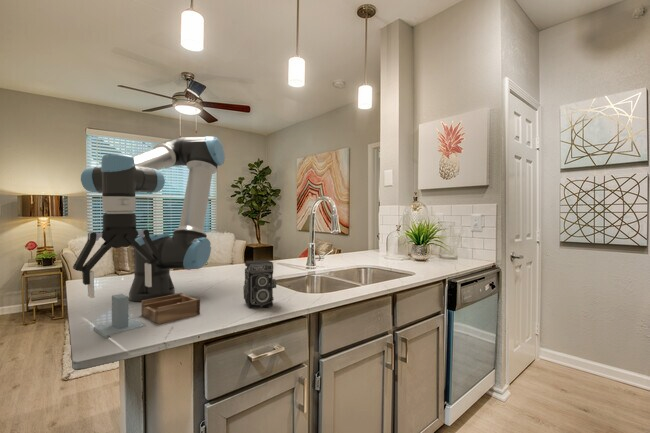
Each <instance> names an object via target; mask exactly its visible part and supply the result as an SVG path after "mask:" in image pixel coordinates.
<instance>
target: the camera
mask: <svg viewBox="0 0 650 433" xmlns="http://www.w3.org/2000/svg"><path fill="white" fill-rule="evenodd" d="M244 265H245V268H244V281H243V282H244V283H243V284H244V285H243V286H242V287H243V289H242V290H243V300H244V303H245V304H246V306H247V308H248V309H255V308H263V307H269V308H270V307H272V306H273V305H274V303H273V302H274V296H273V293H274V292H273V291H274V290H273V289H276V288H277V280H276V278H273V276H274V275H273V274H274V262H273V261H271V260H266V259H264V260H248V261H247V260H246V261H245V262H244Z"/></svg>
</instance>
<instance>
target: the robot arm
mask: <svg viewBox="0 0 650 433" xmlns="http://www.w3.org/2000/svg"><path fill="white" fill-rule="evenodd" d="M224 163H225V150H224V147H223V144H222V143H221V140H220V139H219V138H217V137H216V136H208V135H205V136H187V137H186V136H183V137H177V138H173V139H172V138H171V139H170V140H169V139H168V140H167V141H164V142H161V143H159V144H155V145H154V147H153V148H152V149H150V150H147V151H145V152H142V153H138V154H136V155H133V156H132V155H128V154H119V153H107V154H104V155H102V157H101V167H97V166H95V167H94V166H93V167H89V168H86V169H84V170H83V171H82V173H81V174H80V183H81V186H82V187H83V188H84V189H85V191H87V192H89V193H99V194H102V197H101V199H102V200H101V201H102V205H101V206H102V208H101V209H102V212H105V213H103V215H102V232H93V231H89V232H88V234H87V241H86V243H85V245H84V246H83V248H82V249H81V251H80V253H79V255H78V257H77V259H76V260H75V262H74V264H73V266H72V269H73V270H74V271H78V272H81V273H82V274H81V275H82V284H83V285H85V286H87V296H88V297H89V298H90V299H93V298H95V297H96V296H95V272H94V271H93V270H92V269H93V268H94V267H95V266H96V265H97V263H98V262H99V261H100V260H101V259H102V258H103V256H104V255H105V254H106V253H107V252H108V251H109V250H111V249H112V248H113V249H119V248H129V247H131V248H132V249H133V254H134V255H133V260H134V261H133V266H134V270H133V271H134V275H133V276H134V278H133V280H132V283H131V286H130V288H129V291H128V301H129V300H130V301H132V302H142V300H147V299H152V298H157V297H163V296H168V295H173V294H176V293H175V292H176V289H175V285H174V282H173V279H172V278H171V272H170V270H186V271H190V270H199V269H202V268H203V267H204V266H205V265H206V264H207V263H208V261H209V258H210V255H211V252H212V247H211V241H210V240H209V238H208V237H207V233H206V232H205V231H204V229H205V223H206V214H207V209H208V204H209V196H210V191H211V182H212V178H213V174H215V173H216V172H217V171H218V166H220V167H221V166H223V165H224ZM181 166H183V167H184V166H186V168H187V169H188V170H189V171H188V177H187V182H186V183H187V184H186V187H185V192H184V193H185V194H184V197H183V204H182V209H181V214H180V220H179V226H178V227H177V228H176V229H174V230H173V232H172V233H173V234H172V237H171V234H170V233H159V234H152V235H151V234H150V230H148V229H143V228H142V229H141V230H137V214H136V213H134V212H136V193H147V194H153V193H158V192H160V191H161V190H163V188H164V186H165V182H166V180H165V176H164V174H163V173H162V171H160V170H161V169H163V168H164V169H169V168H172V167H181ZM138 236H139V237H138ZM101 238H102V241H104V242H103V243H102V244H101V246H100V247H99V248H98V250H96V252H94V254H93V255H92V256H91V257H90V258H89V255H90V253H91V252H92V250H93V248H94V246H95V244H96V242H98V241H99V239H101ZM88 258H89V260H87V259H88ZM86 261H87V262H86Z"/></svg>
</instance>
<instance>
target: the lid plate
mask: <svg viewBox="0 0 650 433" xmlns="http://www.w3.org/2000/svg"><path fill="white" fill-rule="evenodd" d="M143 327H147V325H146V324H145V323H143V322H141V321H139V320H138V319H135V317H129V295H128V296H127V295H126V294H123V293H119V294H114V295H113V294H112V295H111V322H108V323H104V324H100V325H95V326H93V330H94V331H95V332H96V333H97V334H99V335H100V336H102V337H103V338H104V339H109V338H111V335H116V334H119V333H124V332H127V331H132V330H135V329H140V328H143Z"/></svg>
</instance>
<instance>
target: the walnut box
mask: <svg viewBox="0 0 650 433" xmlns="http://www.w3.org/2000/svg"><path fill="white" fill-rule="evenodd" d="M200 314H201V299H200V298H196V297H192V296H190V295H187V294H183V293H182V292H180V293H175V294H173V295H168V296H163V297H157V298H152V299H147V300H142V301H141V316H142V317H144V318H146V319H148V320H150V321H151V322H154V324H157V325H161V324H166V323H169V322H174V321H177V320H181V319H184V318H185V319H186V318H189V317H194V316H197V315H200Z"/></svg>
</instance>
